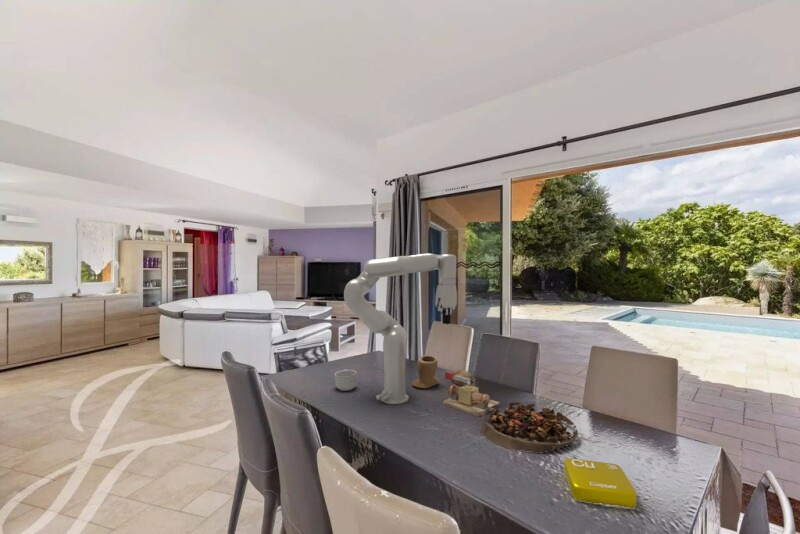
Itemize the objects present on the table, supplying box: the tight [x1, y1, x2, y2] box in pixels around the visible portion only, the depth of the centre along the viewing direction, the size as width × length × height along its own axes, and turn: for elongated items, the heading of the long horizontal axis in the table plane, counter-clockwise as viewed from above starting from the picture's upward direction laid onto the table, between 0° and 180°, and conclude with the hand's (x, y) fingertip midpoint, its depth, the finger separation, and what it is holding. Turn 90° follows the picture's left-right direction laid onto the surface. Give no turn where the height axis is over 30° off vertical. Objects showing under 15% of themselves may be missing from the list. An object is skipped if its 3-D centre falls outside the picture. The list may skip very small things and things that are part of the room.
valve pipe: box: [448, 383, 491, 409], centre depth 159 cm, size 6×18×7 cm, turn 45°
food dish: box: [479, 401, 579, 453], centre depth 136 cm, size 35×33×8 cm
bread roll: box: [452, 369, 474, 386], centre depth 191 cm, size 10×10×8 cm
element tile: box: [563, 457, 637, 508], centre depth 101 cm, size 15×15×5 cm
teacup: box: [334, 368, 358, 392], centre depth 183 cm, size 14×11×8 cm
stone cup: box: [411, 354, 441, 389], centre depth 186 cm, size 15×12×15 cm
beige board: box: [442, 397, 500, 417], centre depth 161 cm, size 16×18×2 cm
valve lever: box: [444, 370, 471, 386], centre depth 163 cm, size 13×3×4 cm, turn 44°
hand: (446, 323), depth 164 cm, fingers closed
